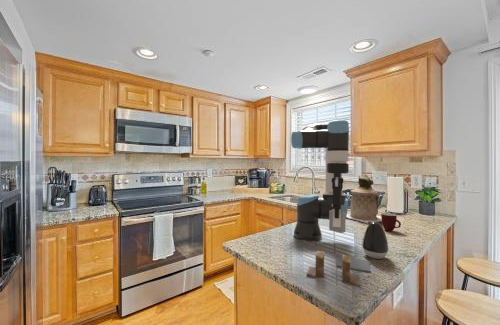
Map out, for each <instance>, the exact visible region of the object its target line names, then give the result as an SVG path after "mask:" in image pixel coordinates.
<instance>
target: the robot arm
mask: <svg viewBox="0 0 500 325" xmlns="http://www.w3.org/2000/svg"><path fill="white" fill-rule="evenodd" d="M290 139H291V140H290V143H291V147H292V149H325V191H324V193H323V194H322V197H320V196H319V194H303V195H300V196H298V197H297V200H296V201H297V202H296V214H297V215H296V224H295V227H294V230H293V237H294V238H295V239H298V240H301V241H306V242H313V241H320V240H321V239H322V235H323V234H322V232H321V228H320V225H319V220H328V221H329V211H331V210H332V209H333V227H341V206H340V205H342V206H343V212H346V215H345V220H346V216H347V214H348V211H349V198H346V194H345V193H344V192H343V188H344V186H343V183H344V178H343V174H348V173H349V172H350V171H349V169H350V168H349V167H350V164H349V163H348V162H349V157H350V156H351V153H349V150H350V149H349V148H350V147H349V146H350V145H349V141H350V140H349V139H350V125H349V121H347V120H343V119H339V120H338V119H337V120H335V119H334V120H331V121H328V122H325V123H323V122H322V123H320V122H318V123H313V124H309V125H307V126H304V127H303V128H302V129H301V130H293V131H292V132H291V136H290ZM332 204H333V206H332Z"/></svg>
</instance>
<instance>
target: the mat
mask: <svg viewBox="0 0 500 325" xmlns="http://www.w3.org/2000/svg"><path fill="white" fill-rule="evenodd" d="M336 268H339V269H340V268H341V269H342V256H337V262H336ZM350 270H352V271H353V270H354V271H357V272H358V271H359V272H364V273H371V272H372V270H371V265H370V260H365V259H358V258H352V257H350Z"/></svg>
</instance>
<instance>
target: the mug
mask: <svg viewBox="0 0 500 325" xmlns="http://www.w3.org/2000/svg"><path fill="white" fill-rule="evenodd" d="M380 216H381V219H382V221H381V223H382V224H381V226H382V227H383V229H384V231H386V232H393V231H394V229H398V228H400V227H402V224H401V221H400V220H399V219H397V214H395V213H391V212H389V213H388V212H381V214H380ZM397 223H398V226H396V224H397Z"/></svg>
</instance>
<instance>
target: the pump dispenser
mask: <svg viewBox="0 0 500 325" xmlns="http://www.w3.org/2000/svg"><path fill="white" fill-rule="evenodd" d="M367 225H368V226H367V227H366V229H365V232H364V234H363V237H362V242H361V243H362V245H361V246H362V249H363V252H364V253H365V255H366V256H368V257H369V258H371V259H375V260H380V259H385V257H386V256H387V254H388V253H389V243H388V238H387V235H386V232H385V229H384V227H383V225H382V224H381V223H380V222H372V223H371V222H370V221H368V224H367Z"/></svg>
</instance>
